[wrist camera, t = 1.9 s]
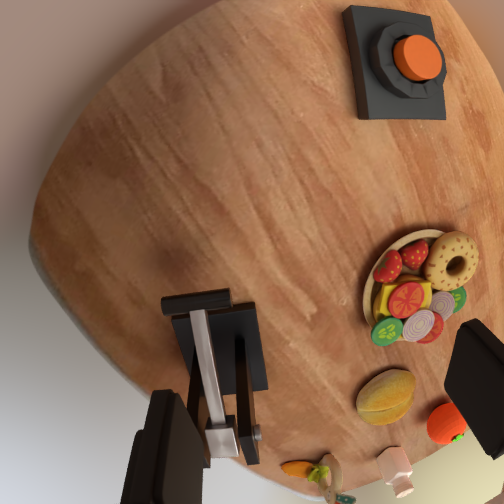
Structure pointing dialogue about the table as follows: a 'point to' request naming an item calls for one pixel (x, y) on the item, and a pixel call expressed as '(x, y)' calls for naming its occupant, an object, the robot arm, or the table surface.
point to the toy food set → (418, 285)
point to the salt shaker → (396, 470)
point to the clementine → (446, 424)
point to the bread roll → (386, 397)
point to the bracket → (227, 371)
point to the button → (417, 58)
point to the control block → (390, 65)
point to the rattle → (322, 478)
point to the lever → (208, 365)
